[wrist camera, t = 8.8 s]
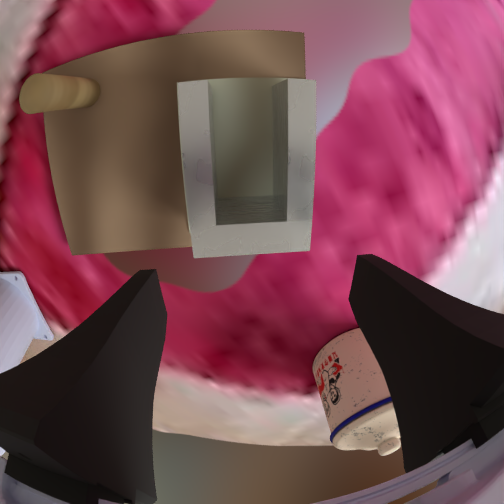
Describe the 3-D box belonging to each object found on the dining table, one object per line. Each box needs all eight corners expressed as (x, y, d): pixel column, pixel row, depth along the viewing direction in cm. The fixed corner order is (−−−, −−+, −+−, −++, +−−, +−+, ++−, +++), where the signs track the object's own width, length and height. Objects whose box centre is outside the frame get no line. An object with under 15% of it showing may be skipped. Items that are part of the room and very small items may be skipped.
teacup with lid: (309, 335, 24) (347, 453, 14) (397, 313, 24) (456, 407, 14) (307, 400, 30) (329, 484, 20) (376, 381, 30) (409, 457, 20)
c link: (292, 219, 17) (309, 250, 14) (200, 224, 17) (193, 258, 13) (293, 86, 13) (316, 80, 10) (189, 89, 13) (177, 82, 9)
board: (77, 248, 18) (36, 302, 12) (50, 73, 11) (-14, 72, 6) (297, 233, 19) (328, 290, 13) (299, 36, 13) (340, 3, 7)
